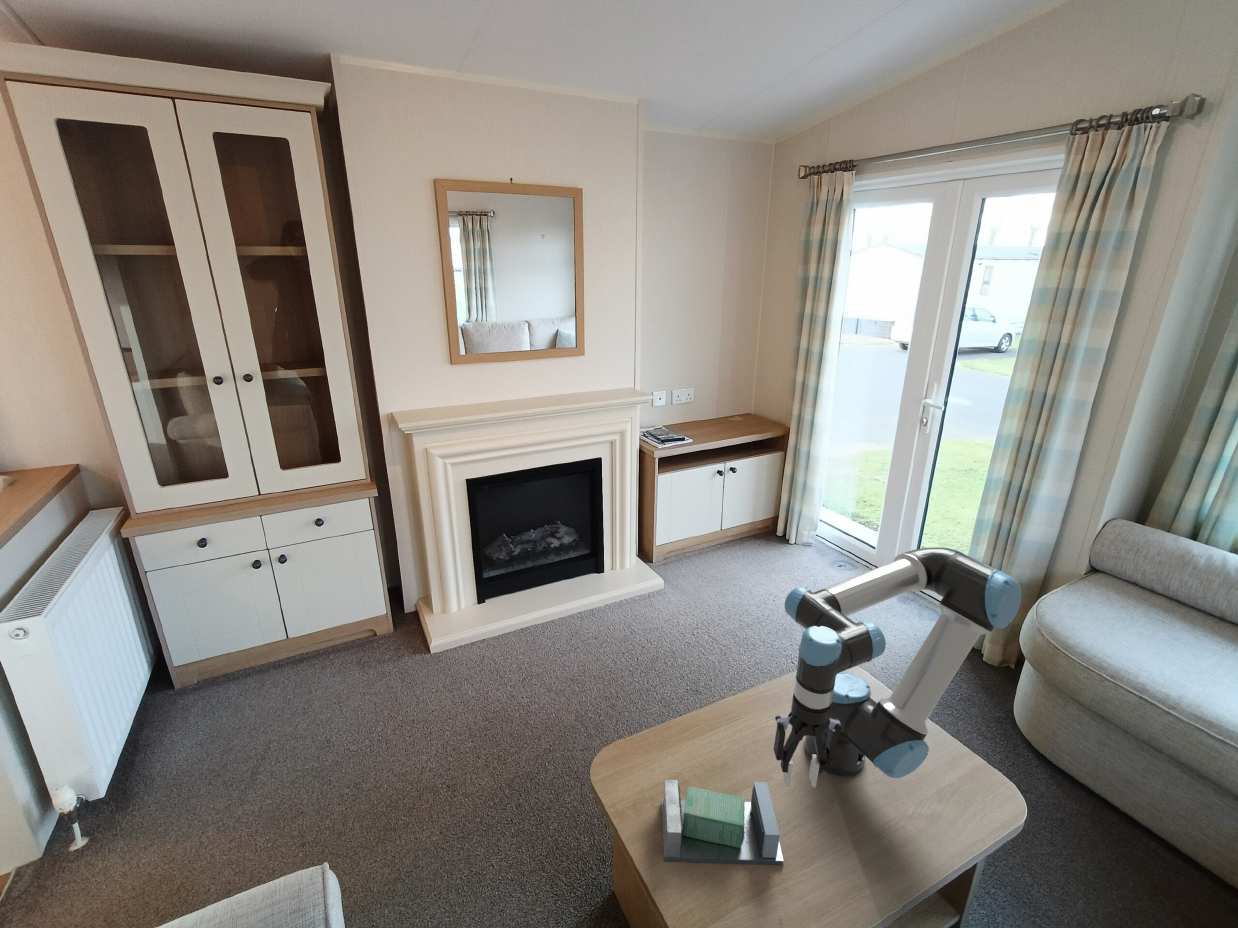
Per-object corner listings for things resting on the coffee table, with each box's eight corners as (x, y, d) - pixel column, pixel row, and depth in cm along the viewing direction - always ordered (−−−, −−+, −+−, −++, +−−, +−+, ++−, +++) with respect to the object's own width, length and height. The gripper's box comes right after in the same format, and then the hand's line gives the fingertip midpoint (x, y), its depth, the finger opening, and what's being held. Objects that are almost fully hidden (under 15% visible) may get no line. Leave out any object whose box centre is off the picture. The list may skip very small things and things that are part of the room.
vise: (769, 807, 137) (772, 780, 134) (783, 865, 124) (787, 837, 121) (661, 803, 138) (662, 777, 135) (664, 861, 125) (665, 834, 122)
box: (742, 849, 126) (745, 825, 123) (681, 837, 128) (683, 812, 126) (743, 819, 132) (745, 795, 130) (685, 808, 135) (686, 784, 132)
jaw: (763, 803, 136) (766, 781, 134) (776, 857, 124) (779, 834, 121) (749, 803, 136) (752, 781, 134) (760, 857, 124) (763, 834, 121)
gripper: (850, 685, 120) (835, 768, 128) (764, 683, 120) (755, 765, 128) (863, 712, 113) (846, 797, 121) (772, 709, 113) (761, 795, 121)
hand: (799, 781), depth 125 cm, fingers open, 5 cm apart
